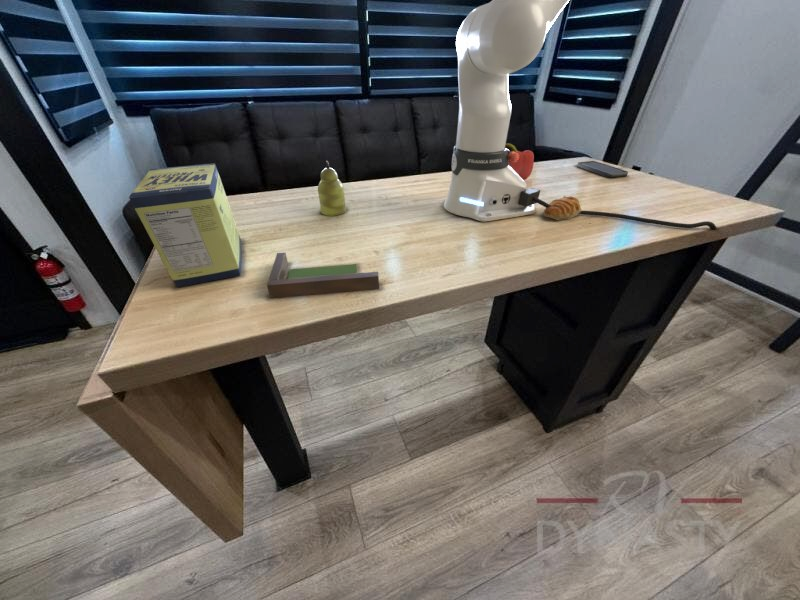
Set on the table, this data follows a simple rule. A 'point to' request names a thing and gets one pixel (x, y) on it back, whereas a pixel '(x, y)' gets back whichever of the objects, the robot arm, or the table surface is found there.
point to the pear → (331, 193)
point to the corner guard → (316, 282)
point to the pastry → (563, 208)
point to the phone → (602, 169)
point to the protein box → (189, 223)
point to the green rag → (322, 271)
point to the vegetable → (522, 162)
